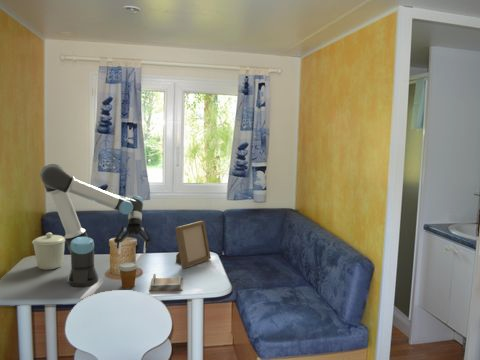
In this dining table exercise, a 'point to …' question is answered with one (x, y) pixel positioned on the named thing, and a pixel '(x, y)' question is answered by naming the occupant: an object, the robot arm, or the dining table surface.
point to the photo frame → (192, 244)
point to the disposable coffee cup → (128, 274)
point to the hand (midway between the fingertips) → (131, 253)
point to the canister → (49, 251)
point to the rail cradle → (166, 284)
